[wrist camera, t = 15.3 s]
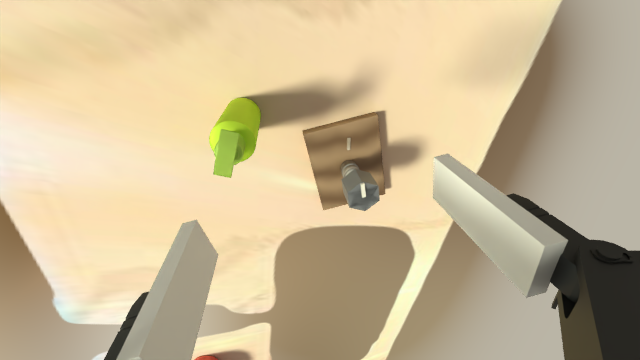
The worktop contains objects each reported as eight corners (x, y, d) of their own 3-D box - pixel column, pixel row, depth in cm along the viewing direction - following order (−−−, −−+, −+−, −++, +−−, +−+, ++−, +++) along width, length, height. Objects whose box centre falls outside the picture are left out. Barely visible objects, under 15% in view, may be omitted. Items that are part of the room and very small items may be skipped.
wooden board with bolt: (302, 130, 48) (306, 147, 41) (374, 112, 48) (390, 125, 41) (322, 204, 57) (328, 228, 50) (381, 189, 57) (396, 210, 51)
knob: (371, 193, 47) (380, 208, 43) (344, 199, 47) (350, 215, 43) (369, 165, 44) (378, 178, 40) (340, 172, 44) (346, 186, 40)
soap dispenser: (265, 97, 44) (258, 139, 27) (257, 134, 47) (246, 193, 30) (230, 86, 42) (198, 125, 25) (223, 125, 45) (192, 183, 28)
